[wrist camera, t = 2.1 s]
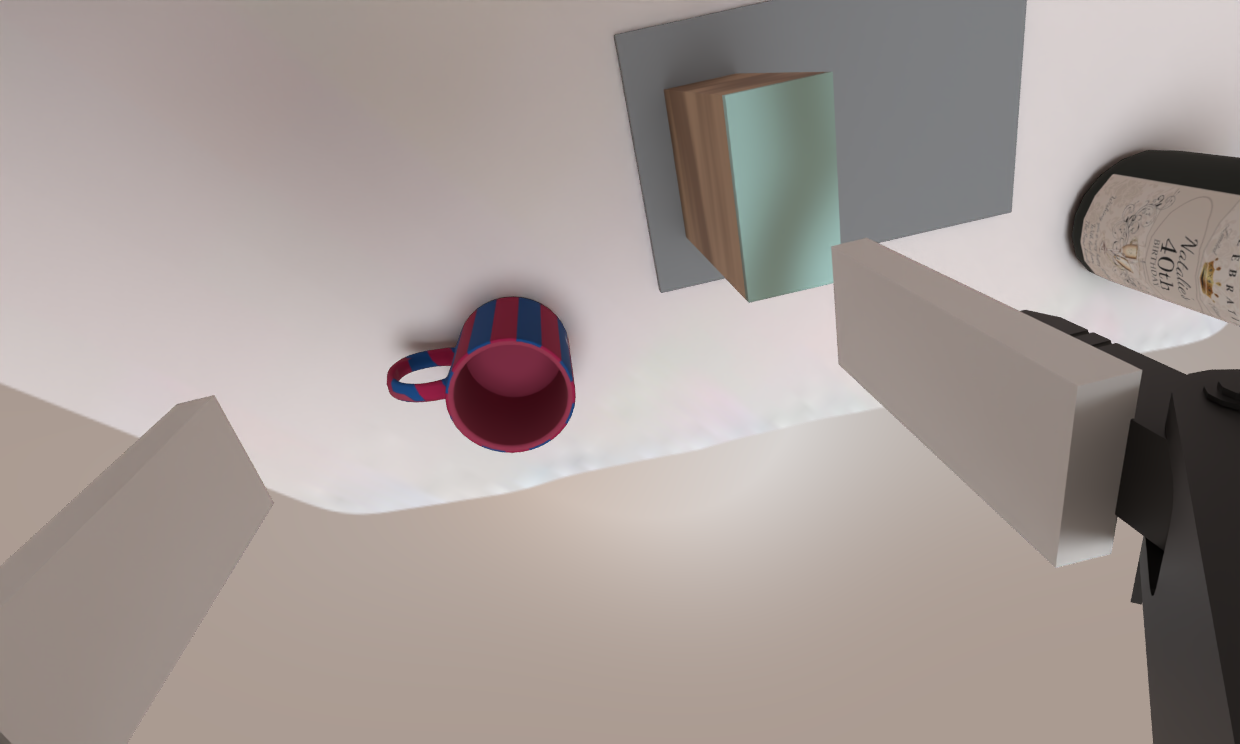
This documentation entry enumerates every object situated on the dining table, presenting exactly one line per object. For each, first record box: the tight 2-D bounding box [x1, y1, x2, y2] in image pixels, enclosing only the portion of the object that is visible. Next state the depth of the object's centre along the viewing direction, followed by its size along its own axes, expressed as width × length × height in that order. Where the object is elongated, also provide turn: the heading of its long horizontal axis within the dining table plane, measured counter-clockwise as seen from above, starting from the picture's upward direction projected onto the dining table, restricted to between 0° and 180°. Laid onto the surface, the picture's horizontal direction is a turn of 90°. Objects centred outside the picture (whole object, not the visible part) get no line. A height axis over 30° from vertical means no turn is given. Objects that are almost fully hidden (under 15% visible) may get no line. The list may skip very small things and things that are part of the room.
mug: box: [387, 297, 576, 453], centre depth 36 cm, size 7×10×7 cm
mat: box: [614, 0, 1027, 293], centre depth 36 cm, size 22×14×1 cm, turn 101°
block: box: [664, 72, 841, 303], centre depth 30 cm, size 4×8×12 cm, turn 11°
